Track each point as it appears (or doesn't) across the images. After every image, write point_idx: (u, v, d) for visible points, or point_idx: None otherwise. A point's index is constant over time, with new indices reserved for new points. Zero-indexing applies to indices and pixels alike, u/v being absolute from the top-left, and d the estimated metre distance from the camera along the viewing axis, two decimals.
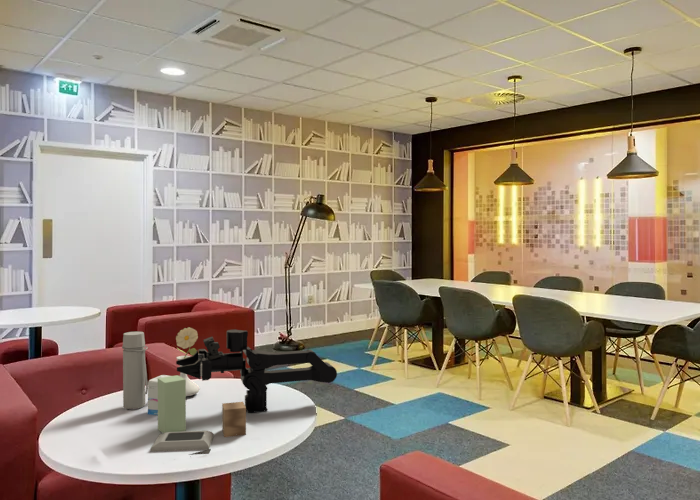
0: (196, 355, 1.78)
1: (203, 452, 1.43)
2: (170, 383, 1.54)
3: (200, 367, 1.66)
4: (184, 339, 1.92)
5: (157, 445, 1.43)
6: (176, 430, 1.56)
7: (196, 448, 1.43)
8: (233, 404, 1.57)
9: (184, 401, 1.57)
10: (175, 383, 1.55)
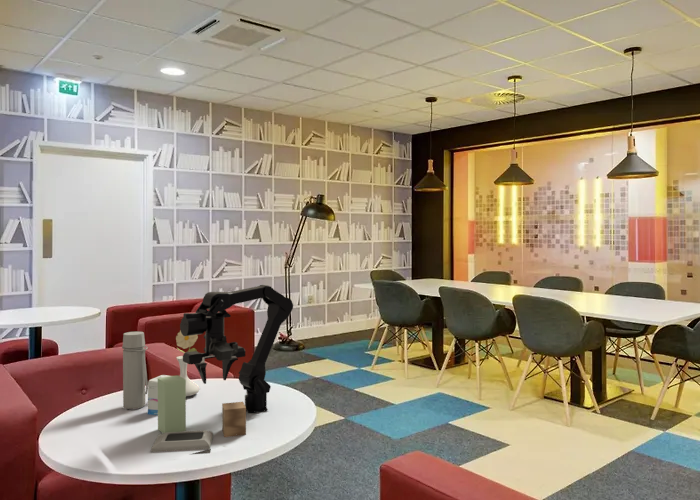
0: None
1: (204, 452, 1.44)
2: (170, 383, 1.54)
3: None
4: (184, 339, 1.92)
5: (157, 445, 1.42)
6: (176, 430, 1.56)
7: (197, 448, 1.43)
8: (233, 404, 1.57)
9: (184, 401, 1.57)
10: (175, 383, 1.55)
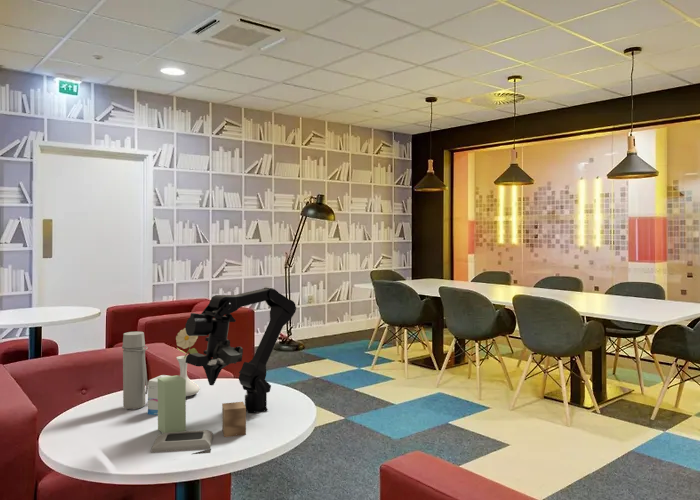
0: None
1: (204, 451, 1.44)
2: (170, 383, 1.54)
3: None
4: (184, 339, 1.92)
5: (158, 445, 1.42)
6: (176, 430, 1.56)
7: (197, 448, 1.44)
8: (233, 404, 1.57)
9: (184, 401, 1.57)
10: (175, 383, 1.55)
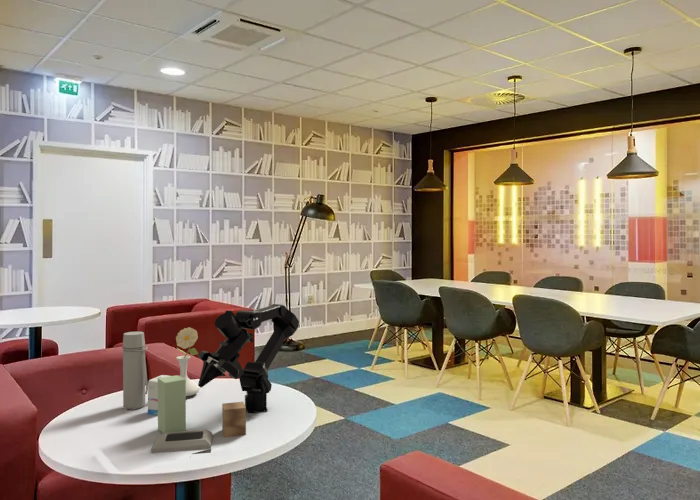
0: None
1: (205, 451, 1.44)
2: (170, 383, 1.54)
3: None
4: (184, 339, 1.92)
5: (158, 446, 1.42)
6: (176, 430, 1.56)
7: (198, 447, 1.44)
8: (233, 404, 1.57)
9: (184, 401, 1.57)
10: (175, 383, 1.55)
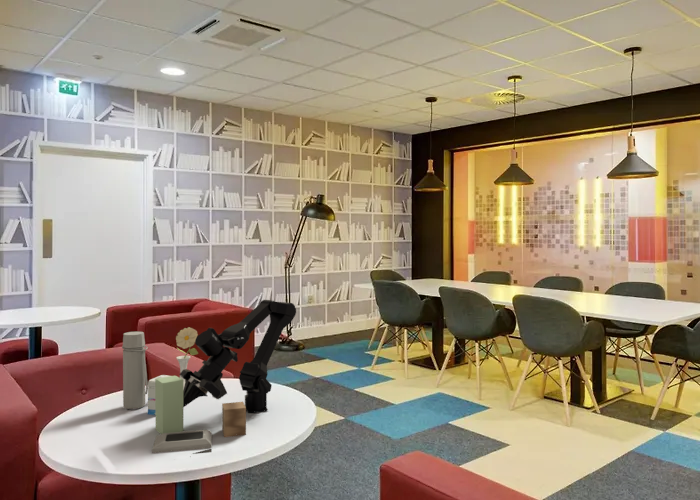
0: None
1: (205, 451, 1.44)
2: (168, 383, 1.54)
3: None
4: (184, 339, 1.92)
5: (159, 446, 1.42)
6: (174, 431, 1.55)
7: (198, 447, 1.44)
8: (233, 404, 1.57)
9: (182, 401, 1.56)
10: (172, 383, 1.55)
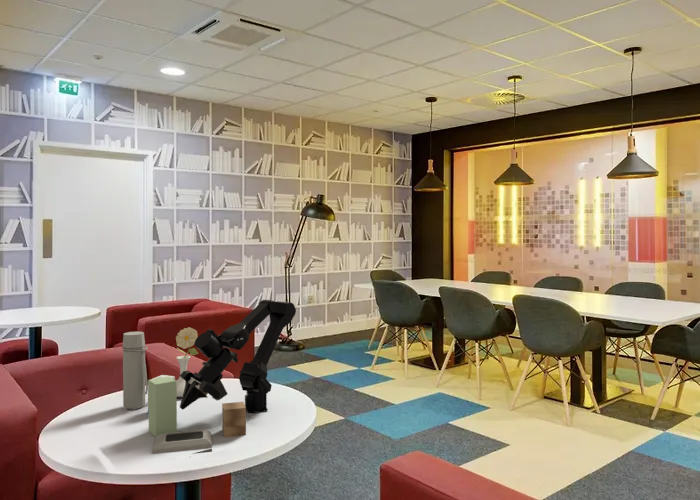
0: None
1: (206, 450, 1.45)
2: (161, 385, 1.52)
3: None
4: (184, 339, 1.92)
5: (159, 446, 1.42)
6: (167, 432, 1.54)
7: (199, 447, 1.44)
8: (233, 404, 1.57)
9: (175, 403, 1.55)
10: (165, 384, 1.53)
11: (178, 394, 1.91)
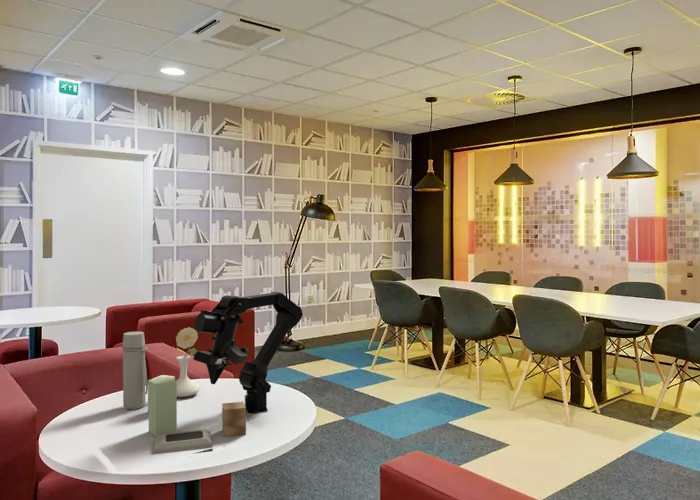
0: None
1: (207, 450, 1.45)
2: (161, 385, 1.52)
3: None
4: (184, 339, 1.92)
5: (160, 446, 1.42)
6: (167, 432, 1.54)
7: (200, 446, 1.44)
8: (233, 404, 1.57)
9: (175, 403, 1.55)
10: (165, 384, 1.53)
11: (178, 394, 1.91)
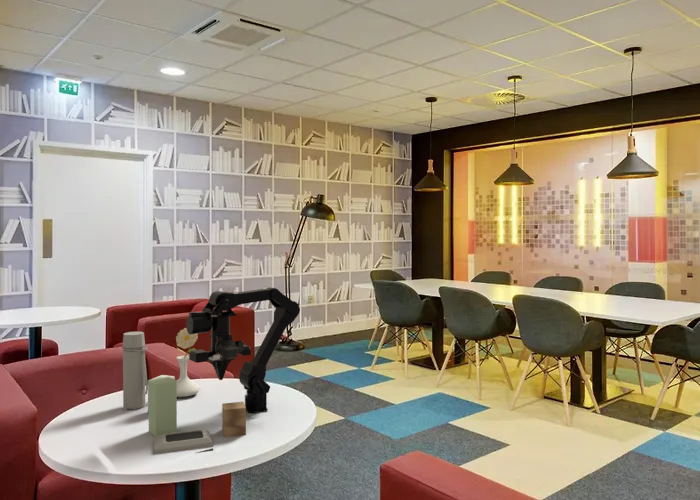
0: None
1: None
2: (161, 385, 1.52)
3: None
4: (184, 339, 1.92)
5: (160, 447, 1.41)
6: (167, 432, 1.54)
7: (200, 446, 1.45)
8: (233, 404, 1.57)
9: (175, 403, 1.55)
10: (165, 384, 1.53)
11: (178, 394, 1.91)
